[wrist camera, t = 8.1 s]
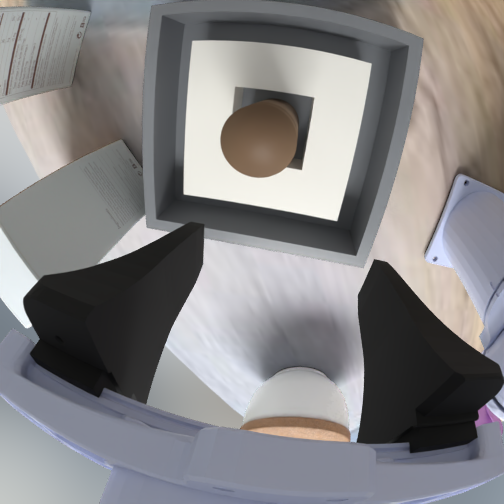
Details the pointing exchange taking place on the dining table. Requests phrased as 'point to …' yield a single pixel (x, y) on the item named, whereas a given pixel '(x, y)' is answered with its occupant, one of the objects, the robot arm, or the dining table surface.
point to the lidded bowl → (299, 407)
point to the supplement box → (38, 49)
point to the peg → (261, 138)
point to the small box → (68, 220)
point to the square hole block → (308, 110)
